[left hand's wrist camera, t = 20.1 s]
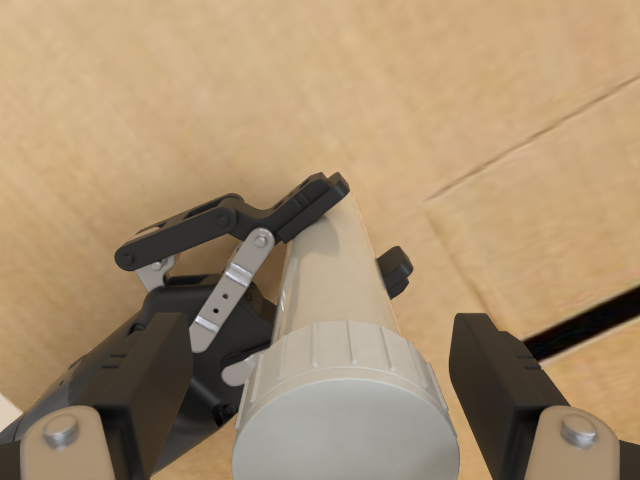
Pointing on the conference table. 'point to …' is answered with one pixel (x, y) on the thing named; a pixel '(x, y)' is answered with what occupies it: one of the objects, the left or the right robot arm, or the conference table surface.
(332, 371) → the lid
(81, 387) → the right robot arm
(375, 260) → the white bottle
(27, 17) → the conference table surface
